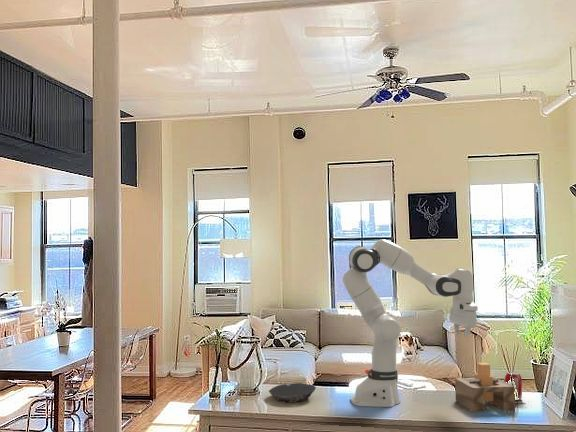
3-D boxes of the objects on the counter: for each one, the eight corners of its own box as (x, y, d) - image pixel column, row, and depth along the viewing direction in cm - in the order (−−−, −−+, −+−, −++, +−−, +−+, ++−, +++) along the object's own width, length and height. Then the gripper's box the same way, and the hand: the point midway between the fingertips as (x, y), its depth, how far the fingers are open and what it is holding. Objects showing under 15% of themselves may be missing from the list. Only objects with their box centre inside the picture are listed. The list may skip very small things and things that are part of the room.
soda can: (507, 400, 246) (506, 374, 247) (504, 396, 253) (503, 370, 254) (523, 401, 245) (523, 374, 245) (520, 397, 252) (519, 371, 252)
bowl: (313, 406, 238) (312, 394, 238) (264, 406, 242) (264, 395, 242) (319, 393, 259) (318, 382, 260) (274, 393, 263) (274, 382, 264)
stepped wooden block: (482, 401, 236) (481, 365, 237) (475, 397, 243) (474, 362, 244) (493, 401, 237) (492, 365, 238) (486, 396, 243) (485, 362, 244)
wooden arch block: (473, 411, 230) (472, 384, 231) (455, 400, 247) (455, 374, 247) (514, 410, 232) (514, 382, 233) (494, 398, 249) (494, 373, 250)
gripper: (446, 302, 257) (445, 331, 256) (465, 306, 236) (465, 338, 236) (459, 302, 258) (458, 331, 257) (479, 307, 237) (478, 339, 236)
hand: (461, 335), depth 246 cm, fingers open, 8 cm apart
